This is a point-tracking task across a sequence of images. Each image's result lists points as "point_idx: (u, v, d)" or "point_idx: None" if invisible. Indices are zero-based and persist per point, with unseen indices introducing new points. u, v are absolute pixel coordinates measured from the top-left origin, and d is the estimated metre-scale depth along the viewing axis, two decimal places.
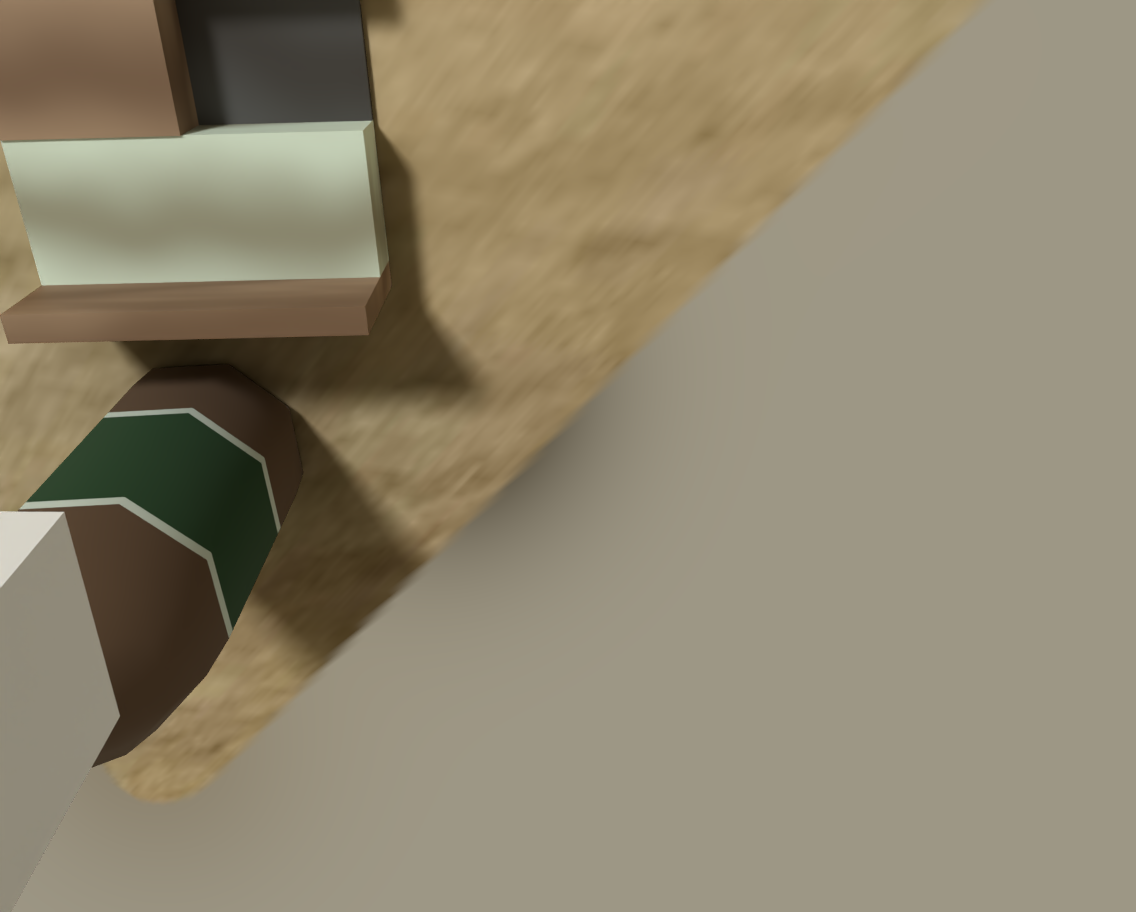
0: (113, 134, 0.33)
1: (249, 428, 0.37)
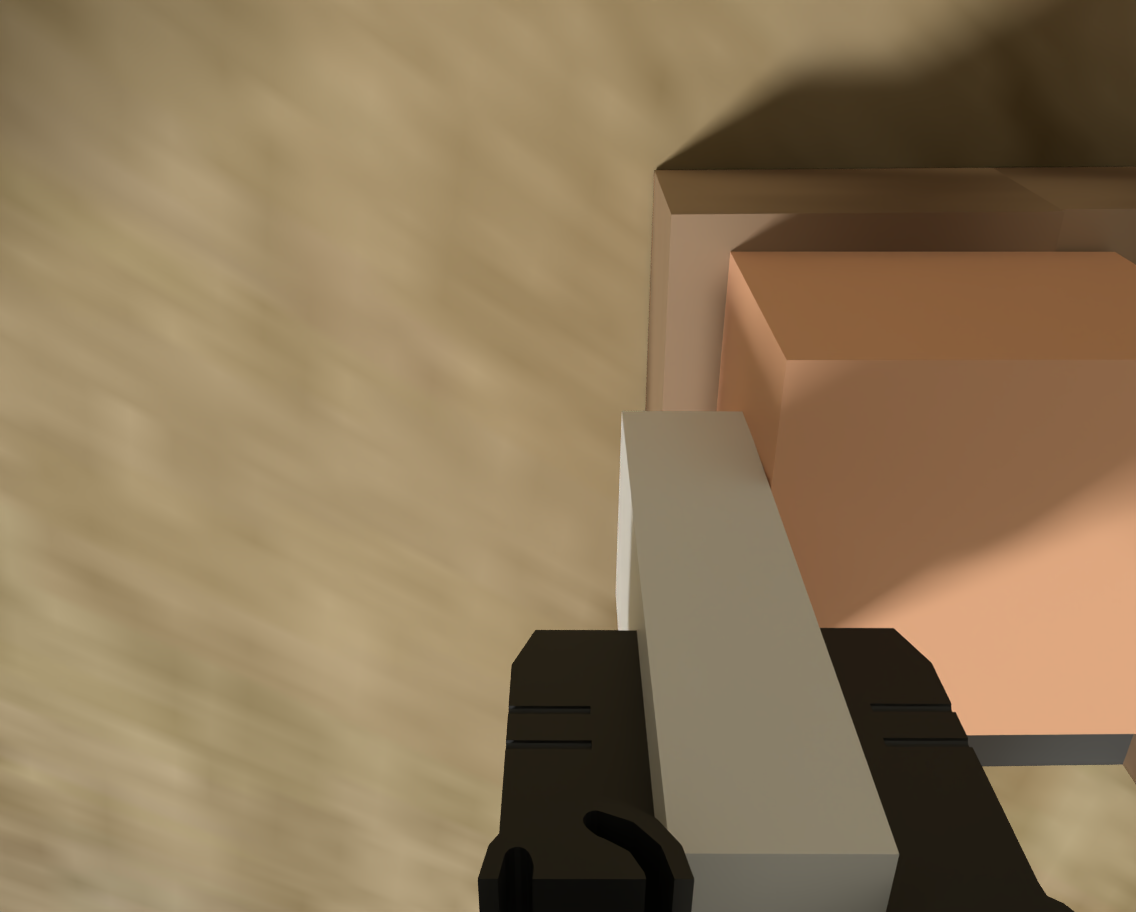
0: None
1: None
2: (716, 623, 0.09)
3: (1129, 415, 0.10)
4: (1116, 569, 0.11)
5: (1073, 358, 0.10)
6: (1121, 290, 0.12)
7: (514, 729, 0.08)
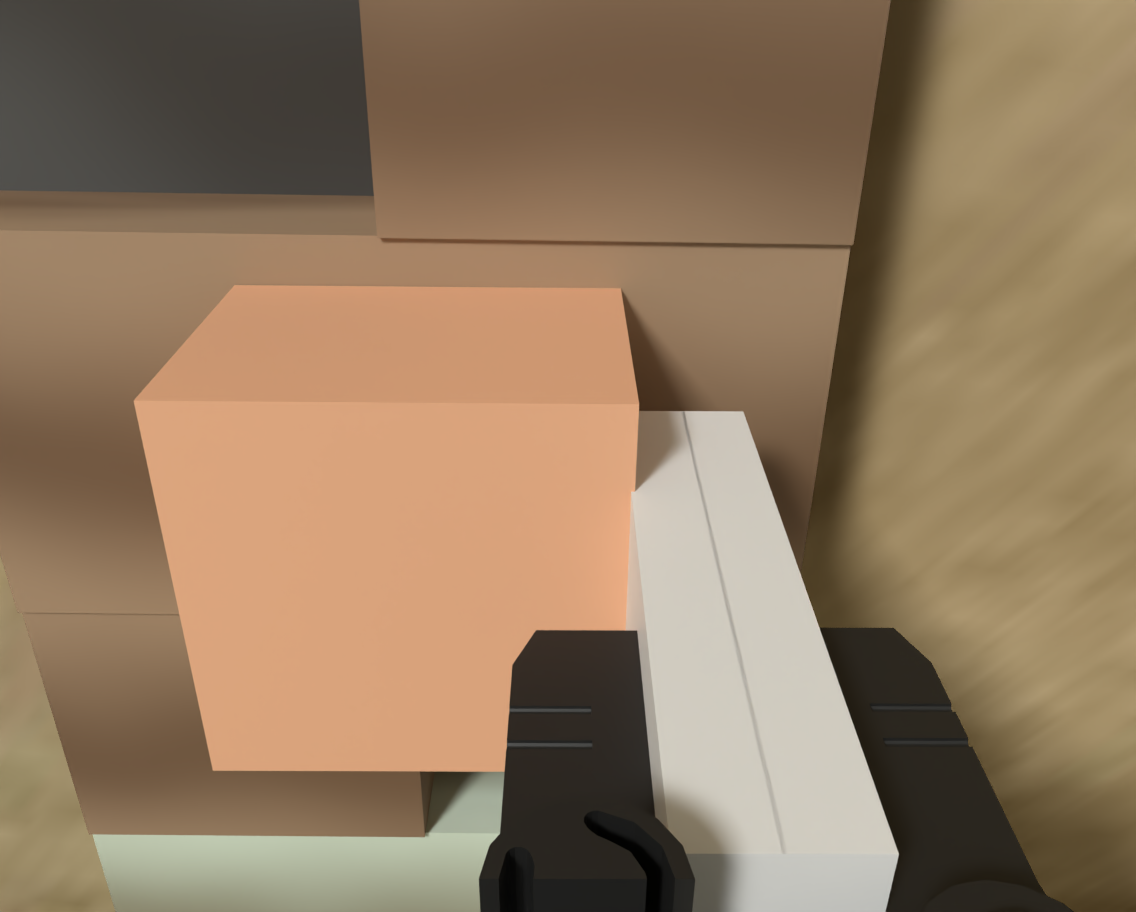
0: (301, 831, 0.18)
1: None
2: (717, 623, 0.09)
3: None
4: (410, 707, 0.12)
5: None
6: None
7: (514, 729, 0.08)
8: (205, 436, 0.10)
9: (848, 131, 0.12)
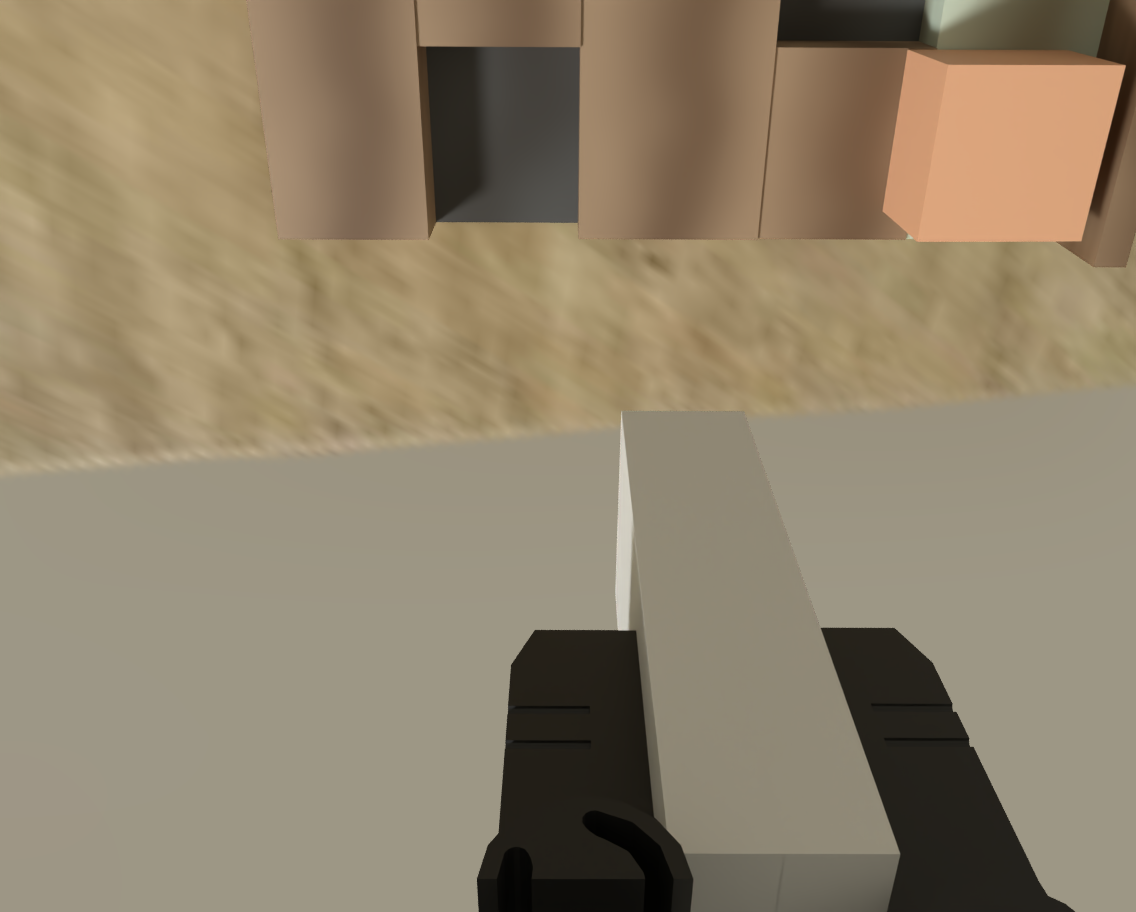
0: None
1: None
2: (715, 623, 0.09)
3: (1069, 88, 0.28)
4: (1067, 157, 0.29)
5: (1049, 65, 0.28)
6: (1069, 56, 0.30)
7: (513, 728, 0.08)
8: (933, 220, 0.30)
9: None
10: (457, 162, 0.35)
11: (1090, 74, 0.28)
